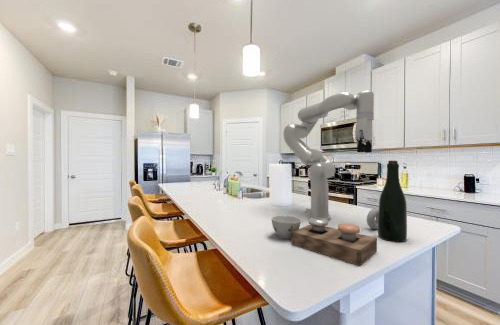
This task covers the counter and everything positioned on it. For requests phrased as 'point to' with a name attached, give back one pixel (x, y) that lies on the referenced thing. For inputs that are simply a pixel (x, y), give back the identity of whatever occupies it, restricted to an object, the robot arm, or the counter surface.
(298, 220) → the teacup
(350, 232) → the button
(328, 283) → the counter surface
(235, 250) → the counter surface
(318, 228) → the button
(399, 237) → the dark green wine bottle
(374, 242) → the block
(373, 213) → the donut
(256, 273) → the counter surface
